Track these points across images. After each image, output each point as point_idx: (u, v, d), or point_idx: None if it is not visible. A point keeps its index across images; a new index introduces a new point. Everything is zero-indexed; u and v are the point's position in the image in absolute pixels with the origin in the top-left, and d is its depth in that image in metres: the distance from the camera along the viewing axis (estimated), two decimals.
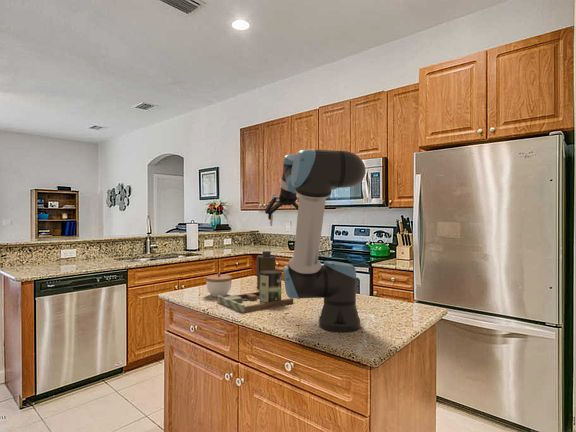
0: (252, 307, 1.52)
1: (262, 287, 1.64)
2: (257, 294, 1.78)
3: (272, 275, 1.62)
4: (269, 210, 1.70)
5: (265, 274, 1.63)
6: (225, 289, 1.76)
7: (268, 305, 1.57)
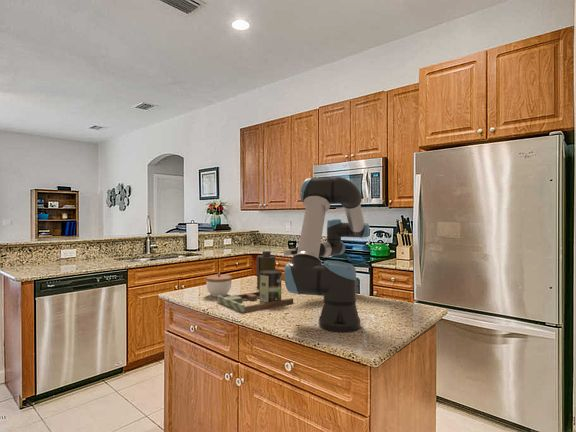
0: (252, 307, 1.52)
1: (262, 287, 1.64)
2: (257, 294, 1.78)
3: (272, 275, 1.62)
4: (296, 248, 1.80)
5: (265, 274, 1.63)
6: (225, 289, 1.76)
7: (268, 305, 1.57)
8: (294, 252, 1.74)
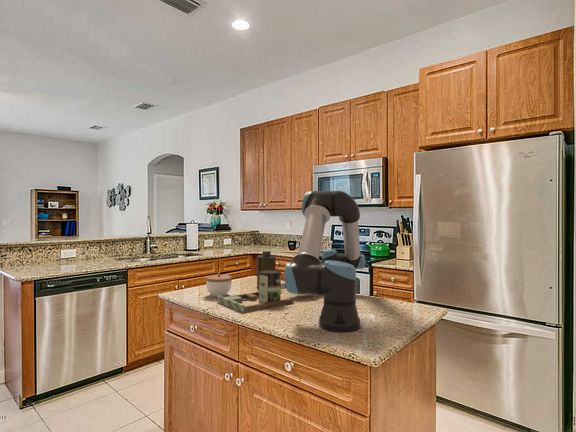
0: (252, 307, 1.52)
1: (261, 287, 1.64)
2: (257, 294, 1.78)
3: (271, 275, 1.62)
4: None
5: (264, 274, 1.62)
6: (225, 289, 1.76)
7: (268, 305, 1.57)
8: None
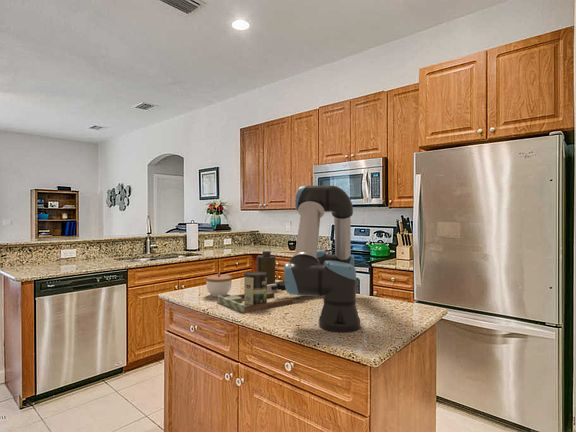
0: (252, 307, 1.52)
1: (247, 289, 1.59)
2: None
3: (257, 277, 1.57)
4: (277, 282, 1.74)
5: (250, 276, 1.58)
6: (225, 289, 1.76)
7: (268, 305, 1.57)
8: (275, 288, 1.67)
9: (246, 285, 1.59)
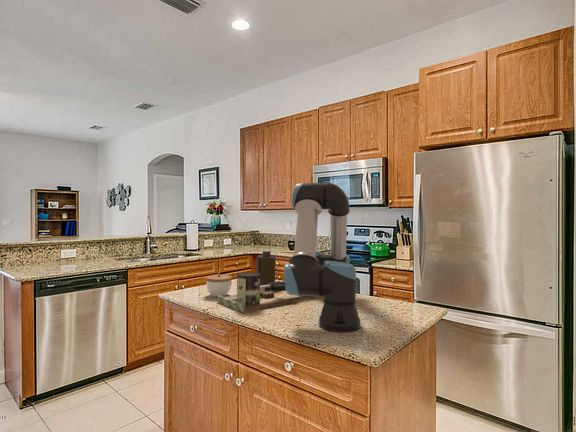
0: (252, 307, 1.52)
1: (239, 290, 1.56)
2: None
3: (249, 278, 1.55)
4: (271, 283, 1.71)
5: (242, 277, 1.55)
6: (225, 289, 1.76)
7: (268, 305, 1.57)
8: (268, 289, 1.64)
9: (238, 286, 1.56)
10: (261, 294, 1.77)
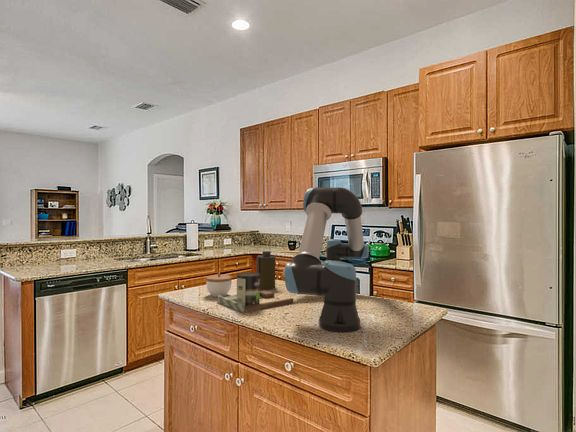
0: (252, 307, 1.52)
1: (239, 291, 1.56)
2: None
3: (249, 278, 1.55)
4: None
5: (242, 277, 1.55)
6: (225, 289, 1.76)
7: (268, 305, 1.57)
8: None
9: (238, 286, 1.56)
10: (261, 294, 1.77)
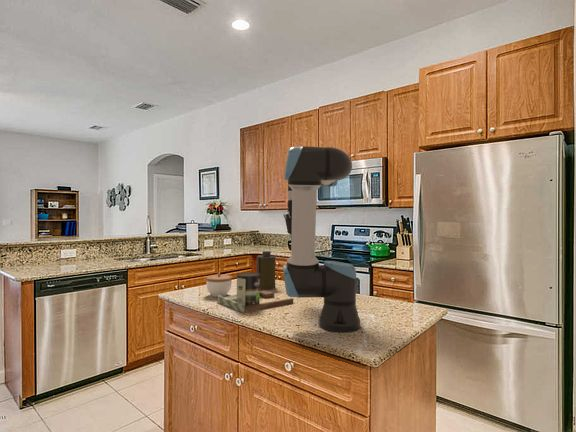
0: (252, 307, 1.52)
1: (239, 291, 1.56)
2: None
3: (249, 278, 1.55)
4: (291, 228, 1.73)
5: (242, 277, 1.55)
6: (225, 289, 1.76)
7: (268, 305, 1.57)
8: None
9: (238, 286, 1.56)
10: (261, 294, 1.77)
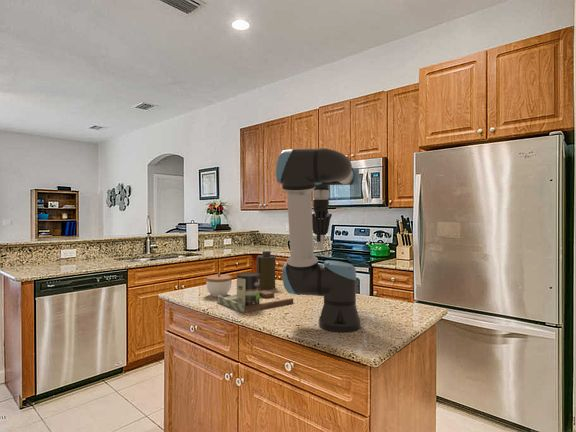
0: (252, 307, 1.52)
1: (239, 291, 1.56)
2: None
3: (249, 278, 1.55)
4: (317, 228, 1.70)
5: (242, 277, 1.55)
6: (225, 289, 1.76)
7: (268, 305, 1.57)
8: None
9: (238, 286, 1.56)
10: (261, 294, 1.77)
